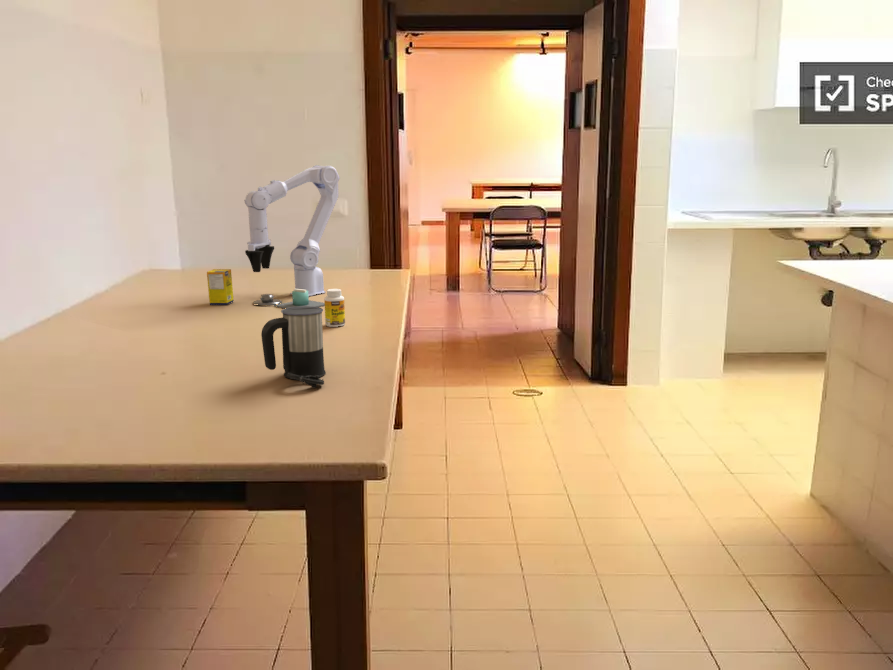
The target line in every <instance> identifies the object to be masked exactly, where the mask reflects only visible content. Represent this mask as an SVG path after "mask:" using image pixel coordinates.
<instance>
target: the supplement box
mask: <svg viewBox="0 0 893 670" xmlns="http://www.w3.org/2000/svg"><path fill="white" fill-rule="evenodd" d="M206 277H207V287H208V288H207V289H208V299H209V305H210V306H228V305H227V304H229V303H230V304H232V303H234V302H233V301H234V299H235V298H234V288H233V277H232V269H229V268H226V269H225V268H220V269H219V268H218V269H217V268H214V269H211V270H208V271H207V272H206ZM231 302H232V303H231ZM230 304H229V305H230Z"/></svg>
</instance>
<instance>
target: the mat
mask: <svg viewBox="0 0 893 670" xmlns="http://www.w3.org/2000/svg"><path fill="white" fill-rule="evenodd" d="M275 306H277V307H276V308H279V307H281V308H280V309H284V308H291V307H301V306H295V305H293V301H290V302H282V303H281V304H278V305H274V306H273V307H275ZM305 306H310V307H319V308H322V307H325V302H321V301H316V300H311V299H309V304H308V305H305ZM321 306H322V307H321Z"/></svg>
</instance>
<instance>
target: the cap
mask: <svg viewBox="0 0 893 670" xmlns="http://www.w3.org/2000/svg"><path fill="white" fill-rule="evenodd" d="M291 293H292V295H291V296H292V302H293V305H295V306H305V305H308V304H309V300H310V299H309V297H310V296H308V291H307V290H304V289H295V288H293V291H291Z"/></svg>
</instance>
